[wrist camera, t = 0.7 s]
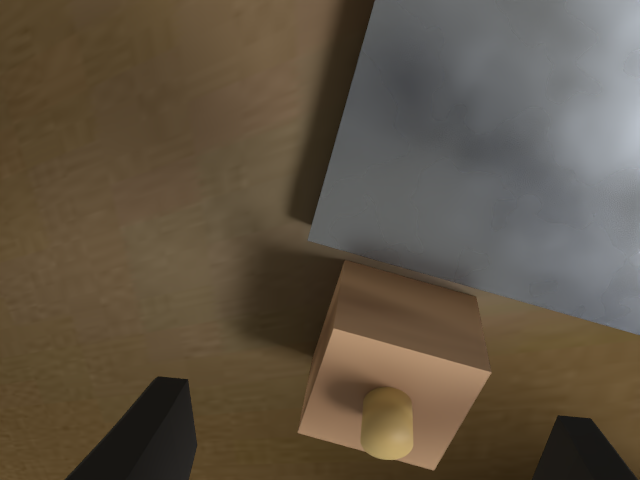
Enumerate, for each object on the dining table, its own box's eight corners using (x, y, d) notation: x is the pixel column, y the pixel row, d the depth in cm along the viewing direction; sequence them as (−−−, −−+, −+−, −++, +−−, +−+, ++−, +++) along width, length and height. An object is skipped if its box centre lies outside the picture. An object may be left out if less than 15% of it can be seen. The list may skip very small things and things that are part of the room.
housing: (428, 387, 23) (436, 510, 18) (313, 354, 22) (290, 469, 18) (475, 294, 20) (499, 409, 15) (345, 258, 20) (327, 362, 15)
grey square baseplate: (634, 318, 19) (645, 336, 18) (311, 226, 19) (307, 240, 18) (872, -7, 14) (903, -3, 13) (415, -143, 13) (416, -148, 13)
